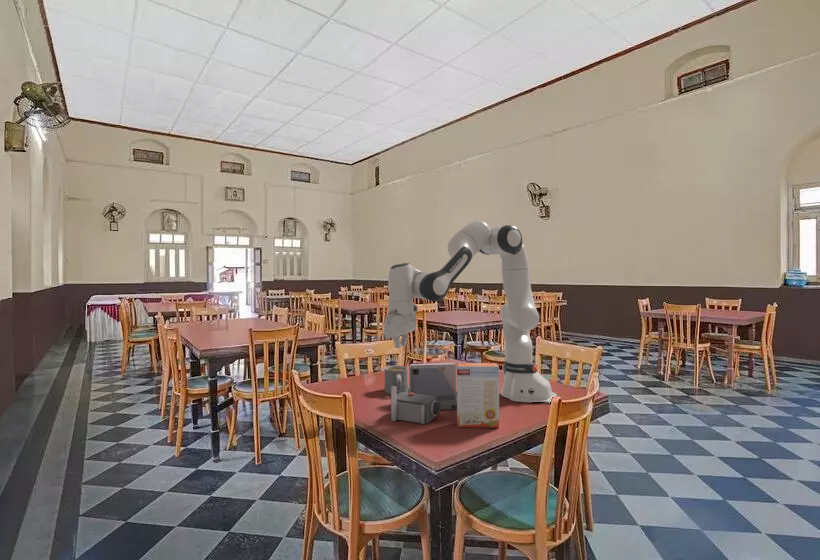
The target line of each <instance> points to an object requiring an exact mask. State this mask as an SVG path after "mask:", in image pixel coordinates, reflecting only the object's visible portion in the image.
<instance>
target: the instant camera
mask: <svg viewBox="0 0 820 560" xmlns="http://www.w3.org/2000/svg"><path fill="white" fill-rule="evenodd" d="M407 389H408V392H407V393H409V392H413V393H414V394H423V395H431V396H437V402H439V403H440V411H441V409H442V410H457V364H455V363H454V362H437V363H436V362H434V363H411V364H409V366H408V387H407Z"/></svg>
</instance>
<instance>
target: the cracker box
mask: <svg viewBox="0 0 820 560" xmlns="http://www.w3.org/2000/svg"><path fill="white" fill-rule="evenodd" d="M499 375H500V366H499V365H498V364H497V363H495V362H492V363H490V362H475V363H474V362H457V363H456V392H457V409H456V423H457V424H456V425H457V428H484V429H485V428H486V429H487V428H488V429H489V428H491V429H494V428H495V429H499V428H500V376H499Z"/></svg>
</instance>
